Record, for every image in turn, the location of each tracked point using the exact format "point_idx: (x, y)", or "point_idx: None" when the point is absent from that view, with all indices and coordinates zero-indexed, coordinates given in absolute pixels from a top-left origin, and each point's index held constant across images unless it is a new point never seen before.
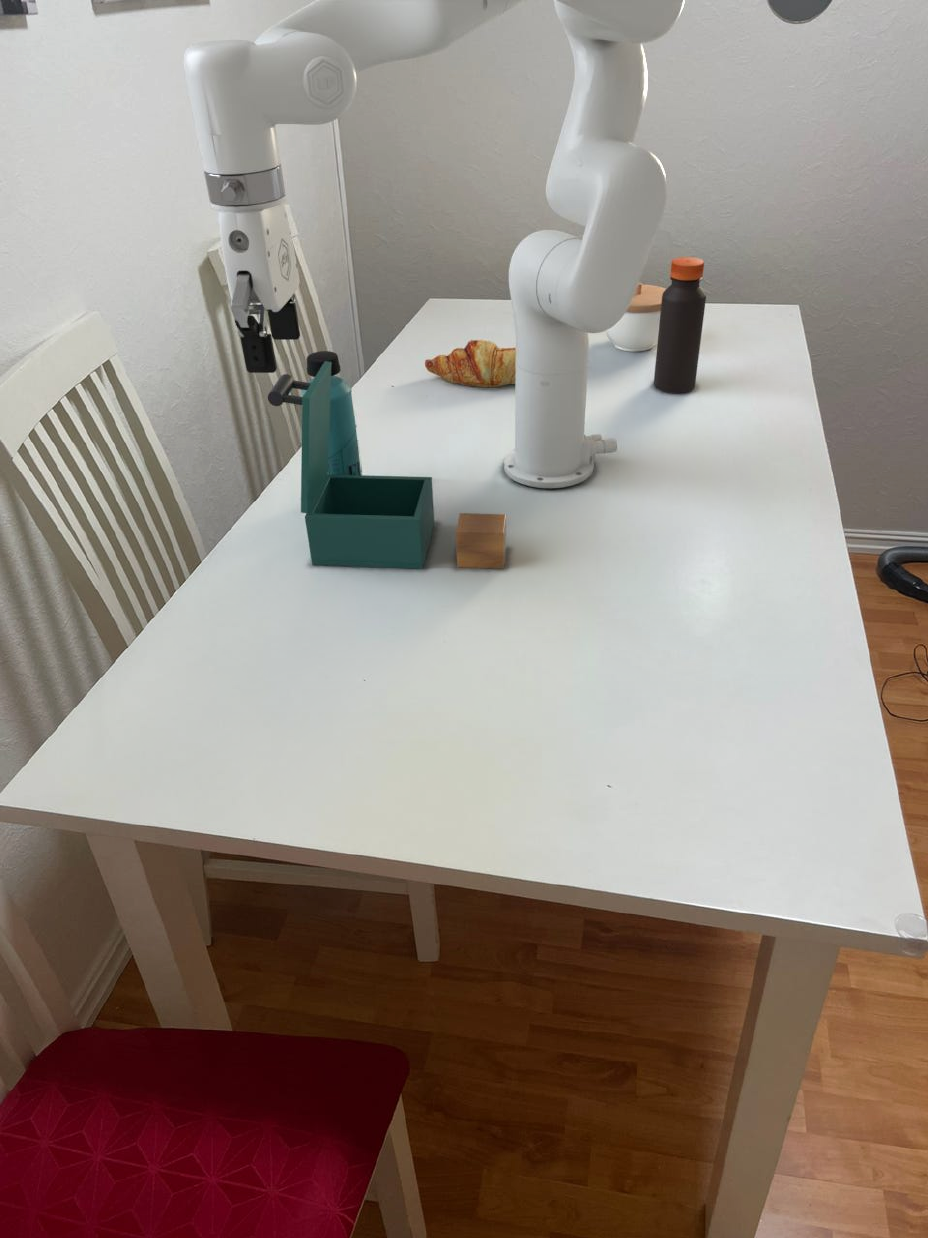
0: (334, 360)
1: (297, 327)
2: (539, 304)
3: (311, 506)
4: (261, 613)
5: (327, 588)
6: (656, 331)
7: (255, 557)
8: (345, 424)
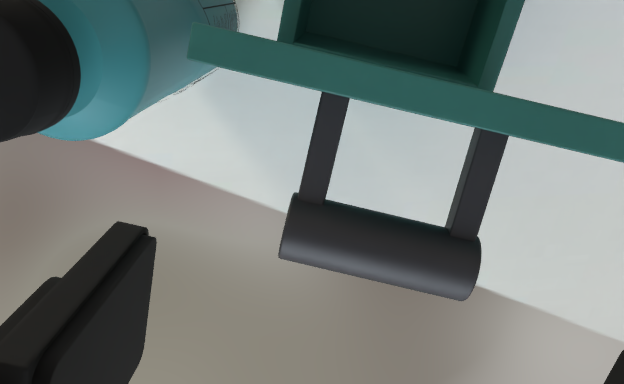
0: (4, 11)
1: (120, 259)
2: None
3: None
4: (603, 171)
5: (559, 49)
6: None
7: (406, 189)
8: None
